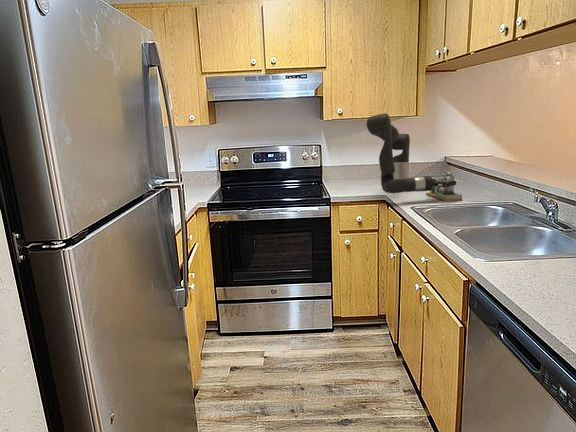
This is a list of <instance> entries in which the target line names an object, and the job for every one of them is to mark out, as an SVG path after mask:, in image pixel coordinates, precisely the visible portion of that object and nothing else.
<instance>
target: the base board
mask: <svg viewBox="0 0 576 432" xmlns="http://www.w3.org/2000/svg"><path fill="white" fill-rule="evenodd" d="M425 195H426V196H428V197H430V198H432V199H436V200H438V201H440V202H443V203H444V202H446V203H447V202H448V203H449V202H458V201H459V202H460V201H463V197H462V198H457V199H442V198H439V197H437V195H436V194H435V193H430V192H426V193H425Z"/></svg>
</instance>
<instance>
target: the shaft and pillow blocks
mask: <svg viewBox="0 0 576 432" xmlns="http://www.w3.org/2000/svg"><path fill="white" fill-rule="evenodd" d="M429 193H435V194H436V195H437V193H444V187H440V188H439V187H433V188H432V190H431V191H429Z"/></svg>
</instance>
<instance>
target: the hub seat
mask: <svg viewBox="0 0 576 432" xmlns="http://www.w3.org/2000/svg"><path fill="white" fill-rule="evenodd" d="M437 197H439V198H442V199H457V198H462V199H463V194H461V193H459V192H458V193H457V192H455V191H454V195H447V196H445V195H444V193H437Z"/></svg>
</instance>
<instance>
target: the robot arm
mask: <svg viewBox="0 0 576 432" xmlns="http://www.w3.org/2000/svg"><path fill="white" fill-rule="evenodd" d="M366 128H367V130H368V132H369V133H370V134H371V135H373V136H376V137H377V138H379V139H381V140H382V141H383V144H382V147H381V150H380V152H379V156H378V163H379V169H380V172H381V173H380V174H381V175H380V183H381V184H380V185H381V189H382V190H383V192H384V193H387V194H399V193H405V192H406V193H409V192H417V193H418V192H430V191H431V190H432V188H433V187H439V188H440V187H450V186H452V185H454V186H456V185H457V181H456V180H454V181H445V180H444V178H438V177H436V178H433V177H432V176H430V175H427V176H426V175H425V176H424V175H423V176H415V177H409V175H410V174H409V173H410V171H409V169H410V167H409V166H410V165H409V164H410V162H409V161H410V144H411V143H410V142H411V139H410V135H409V133H399V130H398V129H397V127H395V126H394V125H393V124H392V122H391V117H390V116H389V114H388V113H386V112H384V113H380V114H375V115H372V116H370V117H368V118H367V120H366ZM394 150H395V151H401V153H400V154H397V155H395V156H394V155H393V151H394ZM445 183H447V185H445Z"/></svg>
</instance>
